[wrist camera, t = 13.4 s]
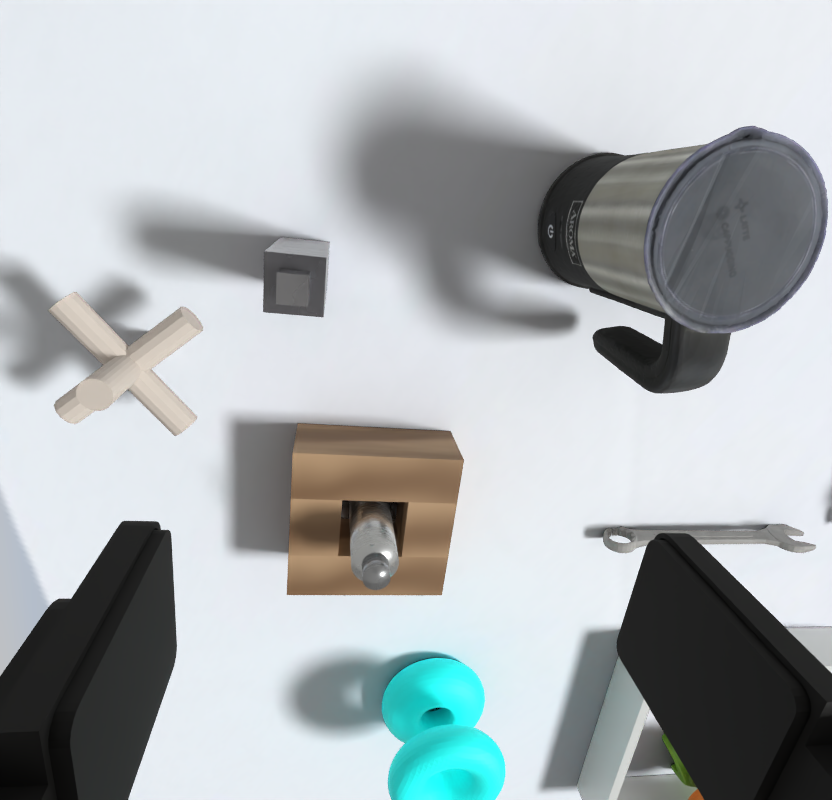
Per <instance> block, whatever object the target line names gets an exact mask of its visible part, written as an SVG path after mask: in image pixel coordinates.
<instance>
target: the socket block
mask: <svg viewBox="0 0 832 800" xmlns="http://www.w3.org/2000/svg"><path fill="white" fill-rule="evenodd" d="M463 463H464V459H463V457H462V455H461V453H460V451H459V449H458V446H457V444H456V442H455V440H454V438H453V436H452V433H451V431H435V430H416V429H397V428H378V427H359V426H340V425H321V424H302V423H298V425H297V430H296V436H295V442H294V448H293V455H292V480H291V505H290V530H289V555H288V580H287V595H442V591H443V584H444V578H445V572H446V566H447V560H448V554H449V548H450V542H451V536H452V530H453V524H454V517H455V511H456V505H457V499H458V493H459V487H460V481H461V475H462V469H463ZM342 500H349V501H382V502H397V510H396V518H395V520H392V521H393V527H394V533H395V539H396V545H397V552H398V558H399V566H398V569H397V571H396V572H395V574H394V575H393V576H392V577H391V579H390V582H389V584H388V585H387V586H386V587H385V588H383V589H380V590H371V589H368V588H367V587H366V586H365V585H364V584H363V581H361V580H359V579H358V578H357V577H356V576H355V575H354V574H353V572H352V569H351V550H350V521H349V518H341V511H342Z"/></svg>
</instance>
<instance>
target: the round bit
mask: <svg viewBox="0 0 832 800" xmlns="http://www.w3.org/2000/svg"><path fill="white" fill-rule="evenodd" d="M349 521H350V550H351V569H352V572H353V574H354V575H355V576H356V577H357V578H358V579H359V580H361V581H363V584H364V585H365V586H366V587H367V588H368V589H371V590H380V589H383V588H385V587H386V586H387V585H388V584H389V582H390V579H391V577H392V576H393V575H394V574H395V572H396V571H397V569H398V566H399V558H398V552H397V545H396V539H395V533H394V527H393V521H392V515H391V509H390V503H389V502H382V501H349Z"/></svg>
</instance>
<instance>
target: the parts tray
mask: <svg viewBox="0 0 832 800" xmlns="http://www.w3.org/2000/svg"><path fill="white" fill-rule="evenodd" d="M785 628H786V629H787V630H788V631H789V632H790V633H791V634H792V635H793V636H794V637H795V638H796V639H797V640H798V641H799V642H800V643H802V644H803V645H804V646H805V647H806V648H807V649H808V650H809V651H810V652H811V653H812V654H813V655H814V656H815V657H816V658H817V659H818V660H819V661H820V662H821V663H822V664H823V665H824V666H825V667H826V668H827V669H828V670H829V671H830V672H831V673H832V627H785ZM649 710H650V708H649V707H648V705H647V703H646V702H645V700H644V698H643V697H642V695H641V693H640V691H639V690H638V688H637V686H636V685H635V683H634V681H633V680H632V678H631V676H630V675H629V673H628V671H627V670H626V668H625V666H624V665H623V663H622V661H621V660H620V657H619V656H618V659H617V662H616V665H615V668H614V671H613V675H612V678H611V681H610V684H609V687H608V690H607V693H606V696H605V699H604V703H603V706H602V709H601V712H600V715H599V718H598V721H597V724H596V727H595V730H594V734H593V737H592V740H591V743H590V746H589V749H588V752H587V755H586V758H585V762H584V765H583V768H582V771H581V774H580V777H579V780H578V783H577V788H578V791H579V793H580V796H581V798H582V800H688V798H689V797H690V796H691V794H692V793H693V792H694V791H695V790H697V788H696V787H690V786H686V785H685V784H683V783H682V782H681V780H680V779H679V778H678V777H677V775H676V774H672V775H655V776H638V777H625V776H626V773H627V771H628V768H629V765H630V762H631V760H632V757H633V754H634V751H635V749H636V746H637V743H638V740H639V738H640V735H641V732H642V729H643V727H644V724H645V721H646V718H647V716H648V713H649Z"/></svg>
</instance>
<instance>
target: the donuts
mask: <svg viewBox="0 0 832 800" xmlns="http://www.w3.org/2000/svg"><path fill="white" fill-rule="evenodd" d="M484 702H485V696H484V689H483V686H482V683H481V681H480V679H479V678H478V676H477V675H476V673H475V672H474V671H473V670H472V669H470V668H469V667H468V666H466V665H465V664H463V663H461V662H458V661H456V660H452V659H446V658H431V659H426V660H421V661H418V662H415V663H413V664H411V665H409V666H407V667H406V668H404V669H403V670H401V671H400V672H399V673H398V674H397V675H395V677H394V678H393V679H392V680H391V681H390V683H389V684H388V686H387V688H386V690H385V692H384V695H383V700H382V715H383V719H384V722H385V724H386V726H387V727H388V729H389V730H390V732H391V733H392V734H393V735H394V736H395V737H396V738H398V739H399V740H400V741H402V742H404V743H405V744H404V745H403V746H402V747H401V749H400V750H399V751H398V753H397V754H396V756H395V757H394V759H393V761H392V764H391V767H390V770H389V775H388V789H389V794H390V797H391V799H392V800H495V799H496V798H497V796H498V795H499V793H500V791H501V789H502V787H503V784H504V779H505V762H504V758H503V755H502V753H501V751H500V749H499V747H498V746H497V744H496V743H495V742H494V741H493V740H492V739H491V738H490V737H489V736H488V735H486V734H485V733H483V732H482V731H480V730H478V729H476V728H474V726H475V725H476V724H477V722H478V721H479V719H480V717H481V715H482V712H483V708H484ZM433 708H441V709H438V710H435V711H428V710H430V709H433Z"/></svg>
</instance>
